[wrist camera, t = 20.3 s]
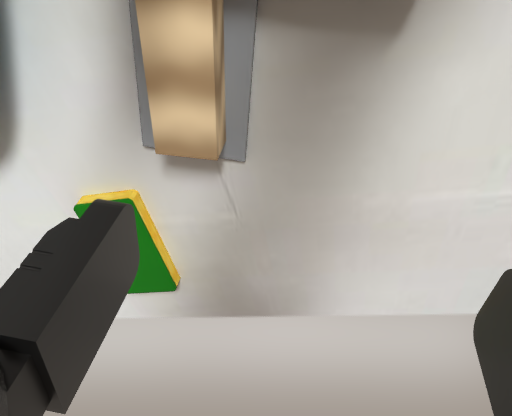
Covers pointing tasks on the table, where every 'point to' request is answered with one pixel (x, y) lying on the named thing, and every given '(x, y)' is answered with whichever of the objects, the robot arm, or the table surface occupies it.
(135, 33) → the slate mat
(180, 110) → the oak block
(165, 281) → the dish sponge
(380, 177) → the table surface
